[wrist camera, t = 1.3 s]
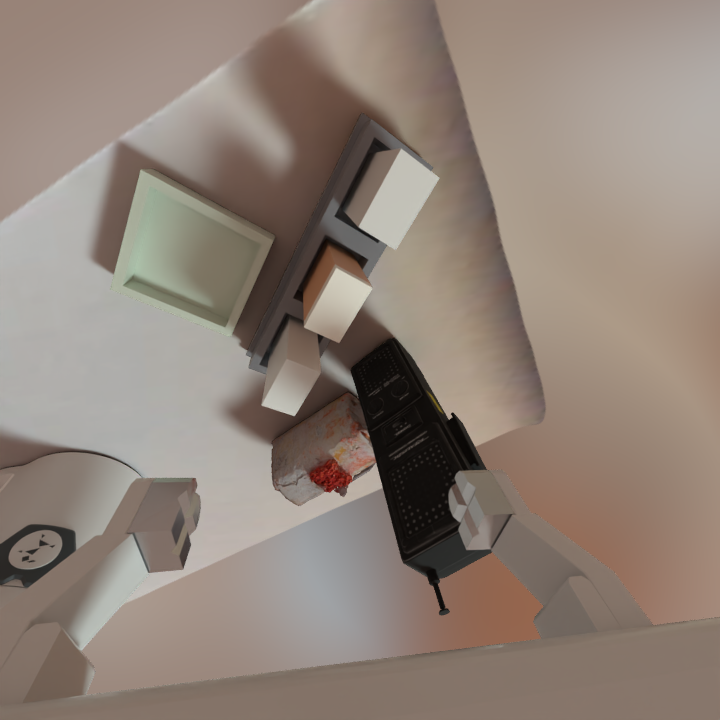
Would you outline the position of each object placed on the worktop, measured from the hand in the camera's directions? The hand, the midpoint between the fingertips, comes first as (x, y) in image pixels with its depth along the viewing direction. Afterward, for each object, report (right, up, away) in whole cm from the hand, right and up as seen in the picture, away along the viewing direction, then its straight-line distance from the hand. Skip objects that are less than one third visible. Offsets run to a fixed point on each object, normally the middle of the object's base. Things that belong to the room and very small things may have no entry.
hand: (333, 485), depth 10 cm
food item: (-4, -5, +34) cm, 34 cm away
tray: (-14, +14, +20) cm, 28 cm away
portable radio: (+4, +4, +30) cm, 31 cm away
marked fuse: (-2, +13, +22) cm, 26 cm away
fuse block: (-2, +13, +23) cm, 27 cm away
